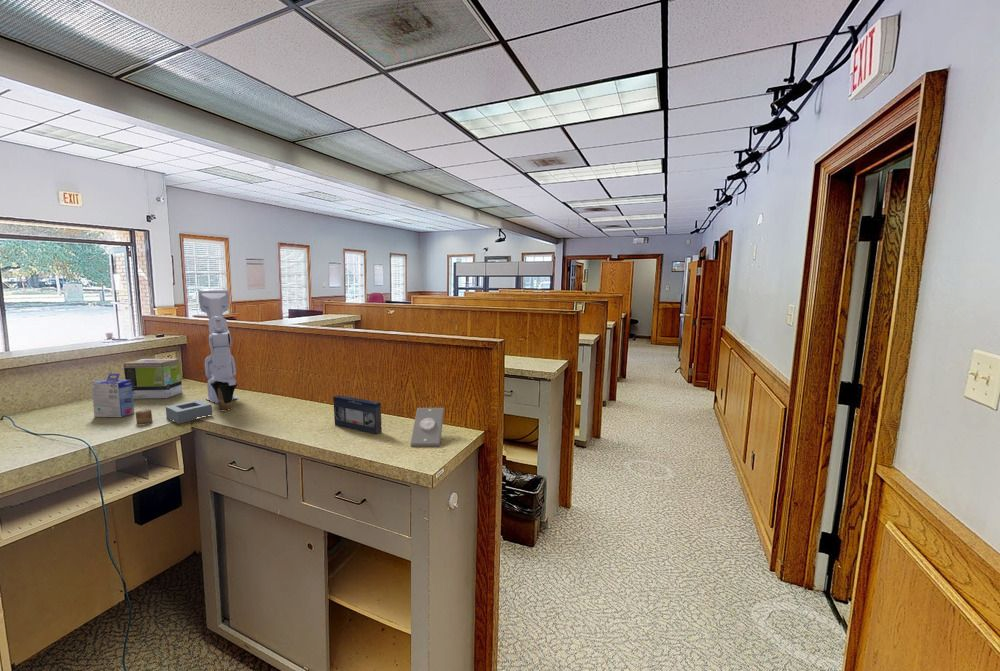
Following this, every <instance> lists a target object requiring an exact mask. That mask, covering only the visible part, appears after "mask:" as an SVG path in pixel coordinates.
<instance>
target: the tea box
mask: <svg viewBox="0 0 1000 671" xmlns="http://www.w3.org/2000/svg"><path fill="white" fill-rule="evenodd" d="M123 372H124V380H131V383H132V394H133V400H135V399H136V400H137V399H139V400H140V399H141V400H143V399H168V398H171V397H173V396H176V395H179V394H181V393H183V384H182V374H181V365H180V358H178V357H177V358H141V359H138V360H131V361H127V362H123Z"/></svg>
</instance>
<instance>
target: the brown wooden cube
mask: <svg viewBox="0 0 1000 671" xmlns="http://www.w3.org/2000/svg"><path fill="white" fill-rule="evenodd" d="M152 413H153V412H152V409H141V410H137V411H134V414H135V419H136V420H135V421H136V425H137V424H138V426H140V425H139V424H145V425H149V424H152V423H153V422H152V421H153V415H152ZM151 422H152V423H151ZM148 423H149V424H148Z"/></svg>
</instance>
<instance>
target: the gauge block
mask: <svg viewBox="0 0 1000 671" xmlns="http://www.w3.org/2000/svg"><path fill="white" fill-rule="evenodd" d="M212 407H213V406H212V404H211V403H208V402H206V401H203V400H200V399H197V400H191V401H187V402H182V403H176V404H172V405H167V406H165V414H166V415H165V416H166V418H167V419H168V418H169V419H168V420H170V419H171V420H170V421H172V420H174V421H175V422H174V421H173V422H174V423H176V424H182V423H186V422H191V421H192V422H193V421H196V420H197V419H196V418H197V417H202V416H208V415H212V416H213V410H212V409H213V408H212ZM195 419H196V420H195Z"/></svg>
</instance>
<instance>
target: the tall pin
mask: <svg viewBox="0 0 1000 671" xmlns="http://www.w3.org/2000/svg"><path fill="white" fill-rule="evenodd" d="M217 390H218V402H219V403H218V411H219V410H227V411H229V410H228V409H231V408H232V409H233V402H230V403H224V400H223V396H222V392H221V390H220V388H218V389H217ZM232 409H231V410H232Z"/></svg>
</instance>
